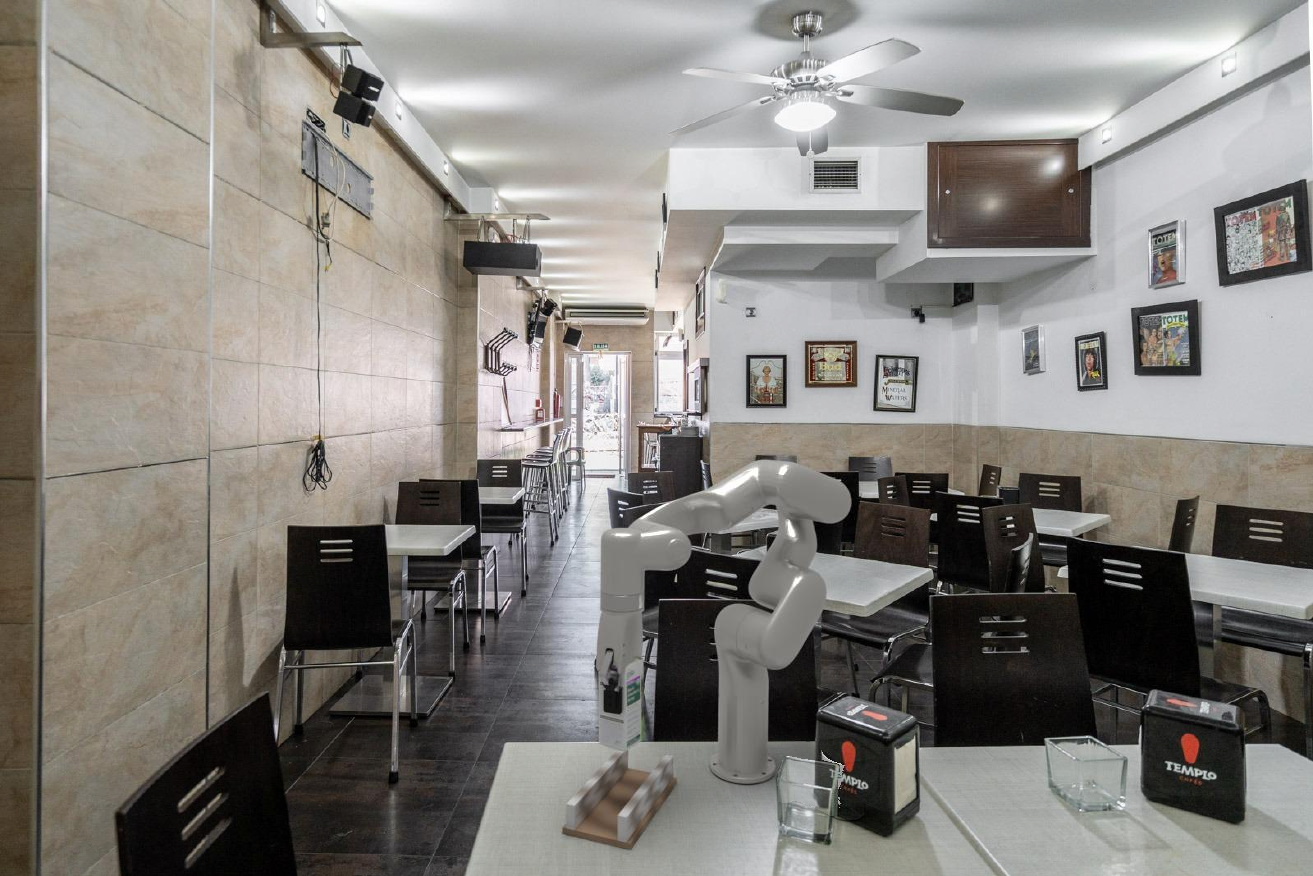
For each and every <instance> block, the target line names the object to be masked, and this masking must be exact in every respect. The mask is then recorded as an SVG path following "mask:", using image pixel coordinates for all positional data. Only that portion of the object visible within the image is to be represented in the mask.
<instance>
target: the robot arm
mask: <svg viewBox="0 0 1313 876" xmlns="http://www.w3.org/2000/svg"><path fill="white" fill-rule="evenodd" d="M769 505H773V506H775V507H776V512H777V518H778V529H777V533H776V537H775V538H774V540H773V542H772V544H771V546H770V547H768V550H767V551H766V553H765V555H764V556H763V558H762V559H761V561H760V562H759V564H758V566H757V567H756V569H755V570H754V572H753V574H752V576H751V578H750V580H749V583H748V593H749V596H750V597H751V599H752V600H753V601H754V602H756V604H759V605H760V606H763V607H765V608H767V609H770V610H773V612H772V613H771V612H769V611H766V610H763V609H761V608H758V607H755V606H751V605H748V604H744V603H733V604H729V605H727V606H725V607H723V609H721V611H720V612H719V613H718V615H717V617H716V619H715V622H714V629H713V630H714V643H715V647H716V653H717V661H718V662H717V663H718V716H717V717H718V720H717V721H718V723H717V724H718V728H717V730H718V731H717V735H718V737H717V743H718V744H717V752H715V753H714V754H713V755H712V756H711V757H710V759H709V767H710V770H711V772H712V773H713V774H714V775H716V776H717V777H719V778H720V779H722V780H725V781H727V782H731V783H734V784H742V785H745V784H747V785H751V784H758V783H763V782H765V781H767V780H769V779H771V778H772V777H773V776H774V775H775V773H776V768H777V767H776V762H775V760H774V759H773V758H772V757H771V756H770V755H769V754H768V753H769V751H768V749H769V747H768V746H769V744H768V743H769V689H770V687H769V686H770V685H769V682H770V681H769V672H768V670H772V671H773V670H775V671H776V670H779V671H780V670H783V669H784V668H786V667H788V666H789V665H790V664H791V663H792V662H793V661H794V660H795V658H796V657H797V656H798V654H799V653H800V651H801V649H802V647H803V646H804V643H805V642H806V640H807V638H808V637H809V635H810V633H811V632H812V631H813V629H814V627H815V625H816V623H817V621H818V620H819V618H820V616H821V614H822V613H823V611H824V607H825V605H826V602H827V601H826V600H827V594H828V593H827V586H826V585H827V584H826V582H825V580H824V578H823V576H822V575H821V573H818V571H816V570H815V569H812V568H810V565H811V564H812V562H813V560H814V558H815V556H816V553H817V549H818V542H817V541H818V539H817V533H816V531H815V524H814V522H820V523H824V524H835V523H838V522H840V521H842V520H844V519H845V518H846V517H847V516H848V514H849V512H850V511H851V507H852V497H851V493H850V490H849V489H848V488H847V486H846V485H845V484H844V483H843V482H842V481H840V480H838V479H836V478H833V477H832V476H828V474H827V475H826V474H824V473H821V472H820V471H817V470H814V469H812V468H810V467H809V466H808V467H807V466H804V465H802V464H800V463H797V462H793V461H787V460H786V461H785V460H773V459H759V460H755V461H752V462H750V463H749V464H746V465H745V466H743V467H742V468H740V469H738V470H737V471H735V472H733V473H732V474H730V475H728V476H726V478H724V479H721V480H720V481H718V482H717V483H715V484H713V485H712V486H710V487H708V488H707V489H704V490H701V491H698V492H695V493H691V494H688V495H686V496H683V497H680V498H677V499H675V500H671V501H669V502H666V503H664V504H662V505H660V506H658V507H656V508H653V509H652V510H650V511H649V512H647V513H645V514H643V515H642V516H640V517H639V518H636V519H635V520H634V521H633V522H632V523H631V524H630V525H629V526H628V527H615V528H614V527H613V528H609V529H606V530H604V531H603V533H602V535H601V536H600V537H601V538H600V584H599V585H600V591H599V593H600V595H599V597H600V598H599V600H600V602H599V604H600V605H599V606H600V607H599V610H600V612H601V613H600V617H599V621H598V622H599V623H598V629H597V641H596V642H597V643H596V659H595V660H596V662H595V663H596V664H595V667H596V668H595V669H596V670H597V672H598V679H599V678H600V680H601V682H602V685H603V686H602V688H603V690H604V698H603V710H604V712H606V713H612V714H618V715H620V714H621V713H622V690H620V686H621V677H622V673H624V672H625V668H626V667H627V666H628V665H629V664H630V663H632V662H633V661H634V660H635V659H636V658H637V657H641V658H642V655H643V651H644V650H643V647H644V646H643V645H644V633H643V632H644V630H643V629H644V628H643V627H644V625H643V613H642V612H644V611H645V575H646V574H645V571H666V572H667V571H673V570H677V569H679V568H681V567H682V566H684V565H685V564H686V563H687V562H688V561H689V559H690V557H691V556H692V555H691V554H692V543H691V540H690V538H689V537H688V536H690V535H691V536H692V535H695V534H703V533H705V534H706V533H708V534H709V533H718V532H721V531H726V530H730V529H733V528H734V527H736V526H737V525H738V524H740V523H741V522H743V521H745V520H746V519H748V518H749V517H751V516H752V515H753V514H755V513H756V512H758V511H759V510H761V509H763V508H764V507H766V506H769ZM612 667H618V670H617V671H613V670H611V668H612ZM599 671H600V673H599ZM610 674H613V675H617V676H616V682H615V681H614V679H613V678H611V676H610Z"/></svg>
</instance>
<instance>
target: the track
mask: <svg viewBox="0 0 1313 876" xmlns="http://www.w3.org/2000/svg"><path fill="white" fill-rule="evenodd" d="M677 783H678V780H677V777H675V776H674V755H671V754H665V755H664V756H663V757H662V759H661V760H660V761H659V763H657V765H656V766H655V767H654V769H653V770H652V771H651V772H649V771H644V770H639V769H634V768H629V750H628V751H627V752H624V751H620V750H616V751H614V753H613V754H612V755H611V756H609V758H608V759H607V761H605V762H604V763H603V765H602V766H601V767H600V768H599V769H597V771H596V772H595V773H594V774H593V775H592V776H591V777H590V778H589V779H588V781H587V782H586V783H584V785H583V786H582V787H581V788H580V789H579V790H578V791H577V792H576V793H575V794H574V795H573V796H572V798H570V800H568V802H566V806H565V807H566V808H565V809H566V813H565V816H566V817H565V818H566V819H565V824H564V825H563V826H562V834H563V835H567V836H571V837H576V838H581V839H584V840H589V841H593V842H596V843H600V844H601V843H602V844H604V845H609V846H612V847H616V848H621V849H625V850H632V848H633V847H634V845H635V844H636V842H637V841H638V839H639V838H640V837H641V835H642V834H643V832H645V829H646V828H647V826H649V823H650V822H651V821H652V819H653V818H654V816H655V815H656V814H657V812H659V809H660V808H661V807H662V805H663V804H664V802H665V801H666V799H667V798H668V796H669V795H670V793H671V792H672V790H673V789H674V788H675V786H676V785H677Z"/></svg>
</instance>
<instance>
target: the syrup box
mask: <svg viewBox="0 0 1313 876" xmlns="http://www.w3.org/2000/svg"><path fill="white" fill-rule="evenodd" d="M611 670H613V671H617V670H618V667H612V668H611ZM599 673H600V671H598V674H599ZM610 676H611V678H613V679H614V681H615V682H616V676H617V675H613V674H610ZM644 685H645V684H644V658H643V657H642V656H641V657H637V658H636V659H635V660H634V661H633V662H632V663H630V664H629V665H628V666H627V667H626V668H625V672H624V673H622V677H621V686H620V690H622V713H621V714H620V715H618V714H612V713H606V712H604V710H603V698H604V690H603V688H602V686H603V685H602V682H601V680H600V678H599V677H598V744H599V745H602V746H603V747H607V748H611V749H613V750H616V751H617V750H620V751H624V752H627V751H628V752H629V750H630V749H632V748H633V747H635V746H636V745H637V744H639V743H641V742H642V741H644V740H645V715H644V714H645V713H644V711H645V706H644V705H645V701H644V699H645V698H644V696H645V695H644V694H645V693H644V692H645V691H644Z"/></svg>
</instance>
